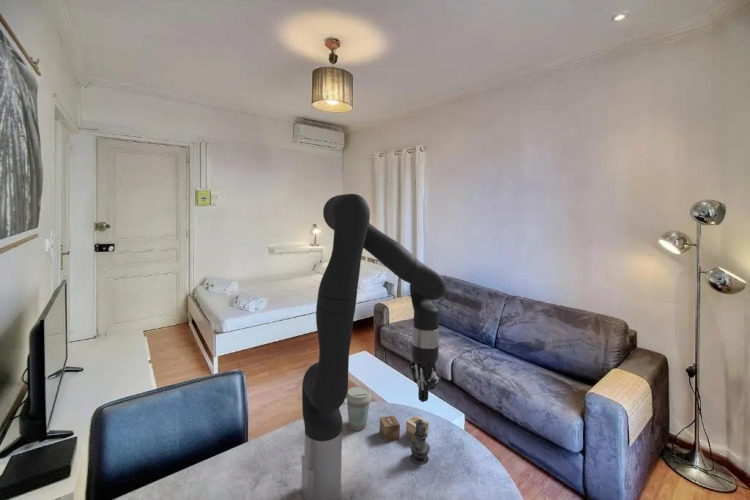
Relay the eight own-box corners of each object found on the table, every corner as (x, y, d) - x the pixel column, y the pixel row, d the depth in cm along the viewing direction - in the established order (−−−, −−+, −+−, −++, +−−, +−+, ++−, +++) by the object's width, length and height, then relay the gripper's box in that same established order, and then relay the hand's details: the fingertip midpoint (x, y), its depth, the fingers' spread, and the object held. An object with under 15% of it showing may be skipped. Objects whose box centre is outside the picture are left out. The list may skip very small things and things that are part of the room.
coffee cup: (341, 430, 112) (341, 395, 111) (350, 416, 120) (351, 383, 119) (365, 435, 110) (366, 400, 108) (373, 421, 118) (374, 387, 117)
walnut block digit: (384, 441, 107) (385, 426, 107) (379, 432, 112) (380, 417, 111) (399, 439, 109) (400, 424, 108) (393, 429, 113) (394, 415, 113)
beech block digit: (417, 443, 107) (418, 428, 106) (405, 435, 111) (406, 420, 110) (427, 436, 110) (428, 421, 110) (416, 429, 114) (416, 414, 114)
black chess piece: (429, 467, 97) (431, 427, 96) (408, 463, 98) (410, 423, 97) (430, 453, 103) (431, 415, 101) (410, 449, 104) (412, 412, 103)
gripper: (401, 336, 101) (399, 392, 103) (428, 353, 89) (426, 415, 91) (422, 333, 104) (420, 387, 106) (451, 348, 93) (448, 408, 94)
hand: (423, 400), depth 99 cm, fingers closed
